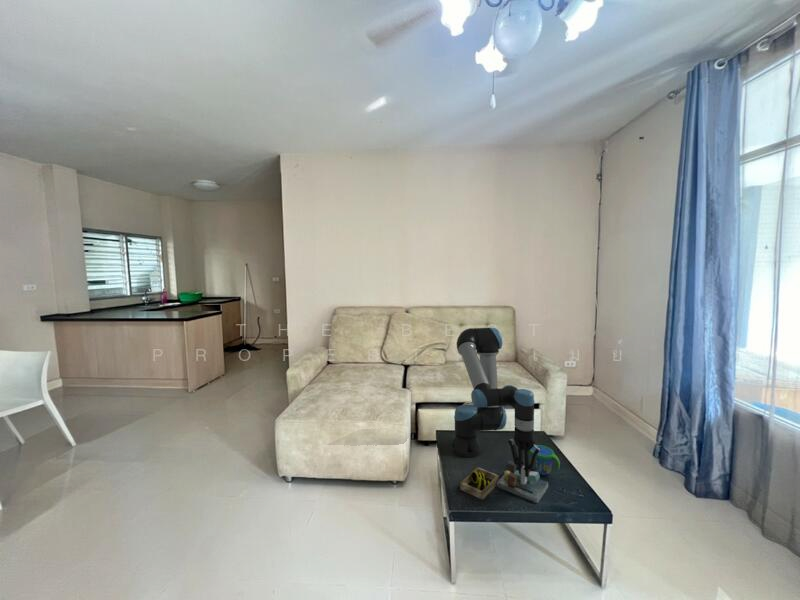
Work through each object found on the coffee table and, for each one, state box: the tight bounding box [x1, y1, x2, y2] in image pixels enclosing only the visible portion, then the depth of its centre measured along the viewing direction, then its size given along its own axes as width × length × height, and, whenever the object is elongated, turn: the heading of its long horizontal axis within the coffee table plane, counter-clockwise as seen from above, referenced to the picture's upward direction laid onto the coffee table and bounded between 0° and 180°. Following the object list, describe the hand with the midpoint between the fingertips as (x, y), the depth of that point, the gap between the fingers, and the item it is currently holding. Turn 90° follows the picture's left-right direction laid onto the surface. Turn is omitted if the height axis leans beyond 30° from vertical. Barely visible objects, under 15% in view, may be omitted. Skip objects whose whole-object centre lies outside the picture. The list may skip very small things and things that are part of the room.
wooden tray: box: [459, 467, 500, 501], centre depth 142 cm, size 11×16×3 cm
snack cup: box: [523, 444, 561, 476], centre depth 152 cm, size 16×10×10 cm
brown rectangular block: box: [508, 472, 517, 487], centre depth 139 cm, size 3×3×4 cm
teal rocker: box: [514, 469, 541, 482], centre depth 141 cm, size 10×4×2 cm, turn 49°
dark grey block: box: [507, 460, 518, 473], centre depth 148 cm, size 3×3×4 cm
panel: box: [496, 469, 549, 504], centre depth 141 cm, size 17×14×7 cm
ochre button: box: [503, 470, 510, 480], centre depth 144 cm, size 3×3×2 cm
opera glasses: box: [470, 470, 490, 491], centre depth 142 cm, size 10×5×5 cm, turn 9°
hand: (523, 482), depth 136 cm, fingers closed
